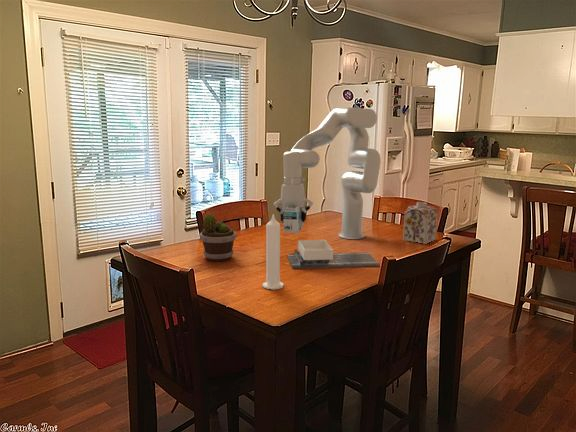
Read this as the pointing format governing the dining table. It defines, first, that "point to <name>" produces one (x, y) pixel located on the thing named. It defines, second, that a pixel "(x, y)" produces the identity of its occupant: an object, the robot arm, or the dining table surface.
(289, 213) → the light bulb box
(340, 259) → the track
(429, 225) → the decorative jar
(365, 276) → the dining table surface
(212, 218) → the flowerpot
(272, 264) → the candle
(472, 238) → the dining table surface
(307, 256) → the cart
